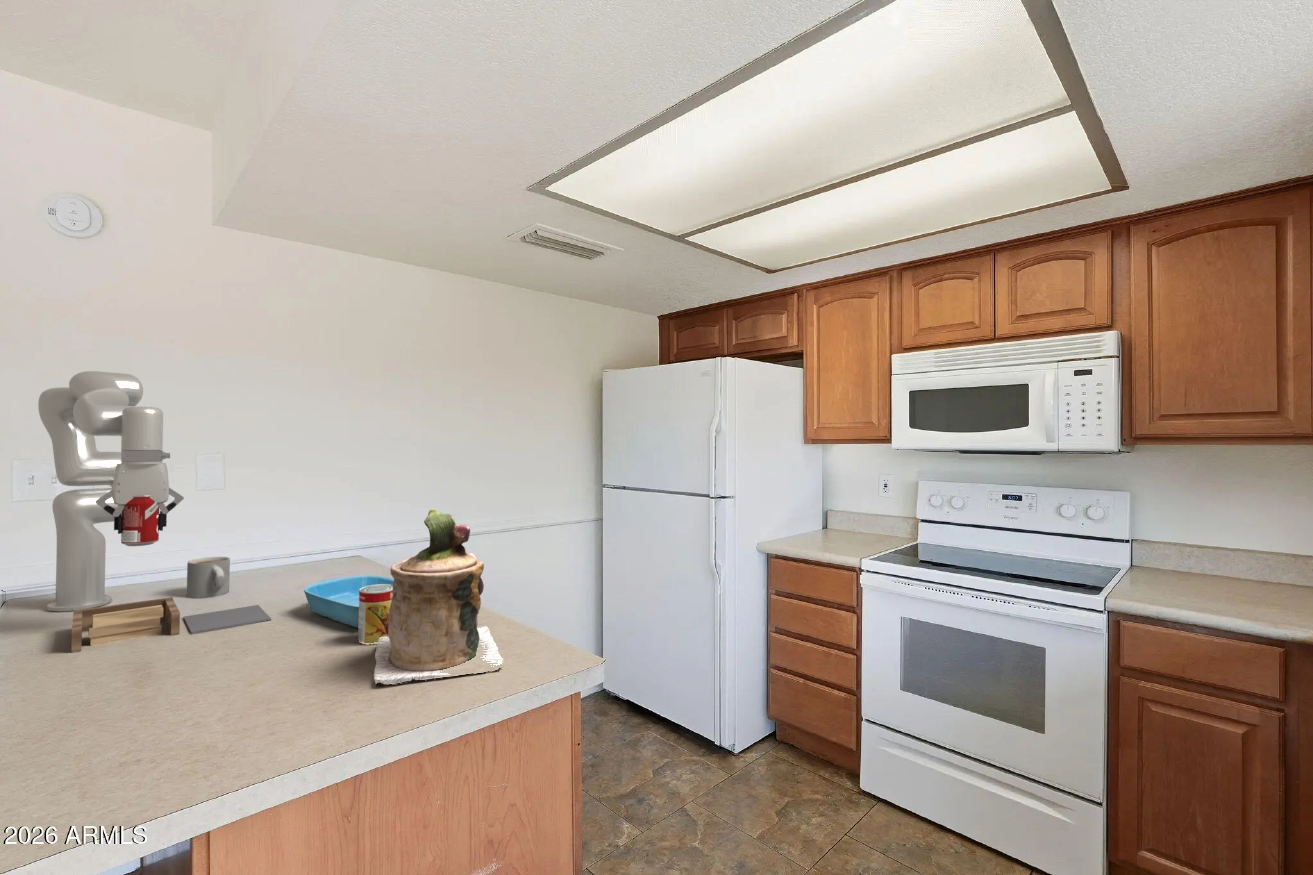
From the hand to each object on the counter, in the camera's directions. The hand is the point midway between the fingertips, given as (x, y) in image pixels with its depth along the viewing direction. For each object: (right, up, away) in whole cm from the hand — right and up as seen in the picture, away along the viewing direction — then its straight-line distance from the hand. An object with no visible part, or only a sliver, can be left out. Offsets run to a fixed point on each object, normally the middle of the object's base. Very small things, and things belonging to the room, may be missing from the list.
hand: (140, 530), depth 140 cm
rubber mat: (+15, -24, +8) cm, 29 cm away
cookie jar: (+78, -25, -15) cm, 83 cm away
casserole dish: (+48, -25, +15) cm, 56 cm away
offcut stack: (+2, -24, -6) cm, 25 cm away
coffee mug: (-7, -24, +30) cm, 39 cm away
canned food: (+59, -25, -4) cm, 65 cm away
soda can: (0, -4, 0) cm, 4 cm away
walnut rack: (-1, -24, -3) cm, 24 cm away
